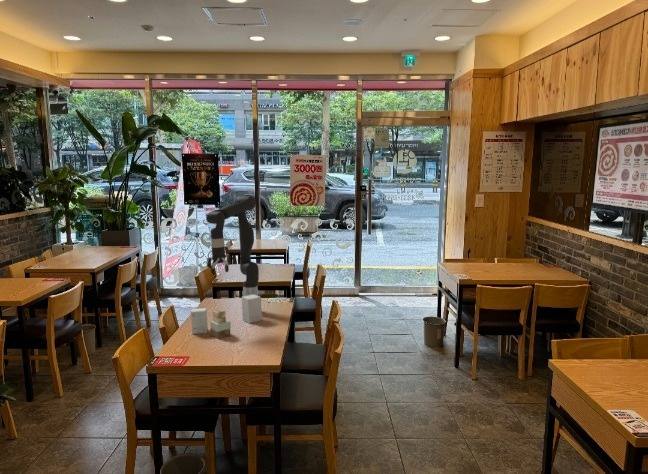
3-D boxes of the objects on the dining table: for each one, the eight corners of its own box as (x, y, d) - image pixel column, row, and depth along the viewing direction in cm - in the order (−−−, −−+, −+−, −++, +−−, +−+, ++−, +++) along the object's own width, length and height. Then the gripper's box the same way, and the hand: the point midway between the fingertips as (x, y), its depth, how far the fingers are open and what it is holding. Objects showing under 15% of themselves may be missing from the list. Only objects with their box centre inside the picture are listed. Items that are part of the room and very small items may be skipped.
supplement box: (262, 320, 277) (261, 296, 275) (249, 323, 271) (248, 299, 269) (255, 317, 284) (254, 293, 282) (242, 320, 278) (241, 296, 277)
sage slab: (223, 325, 257) (223, 318, 257) (230, 328, 251) (230, 321, 251) (210, 328, 252) (210, 321, 252) (217, 331, 246) (217, 324, 246)
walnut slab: (223, 332, 258) (223, 325, 257) (230, 335, 252) (230, 328, 251) (210, 335, 253) (210, 328, 252) (217, 338, 247) (217, 331, 246)
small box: (207, 329, 262) (206, 307, 260) (206, 333, 256) (205, 310, 254) (193, 330, 260) (192, 308, 259) (192, 334, 254) (190, 311, 253)
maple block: (221, 319, 255) (220, 309, 254) (225, 321, 251) (225, 310, 250) (213, 321, 251) (212, 311, 251) (217, 323, 248) (217, 312, 247)
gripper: (225, 243, 270) (227, 270, 272) (203, 247, 260) (205, 274, 263) (232, 244, 264) (234, 272, 266) (209, 248, 255) (212, 276, 257)
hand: (220, 273), depth 265 cm, fingers open, 8 cm apart
